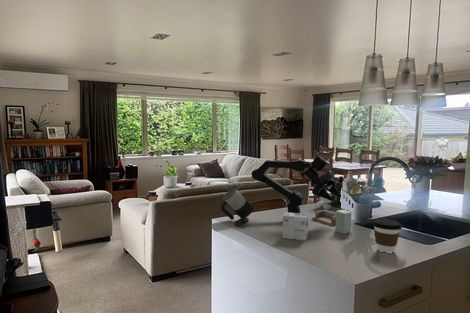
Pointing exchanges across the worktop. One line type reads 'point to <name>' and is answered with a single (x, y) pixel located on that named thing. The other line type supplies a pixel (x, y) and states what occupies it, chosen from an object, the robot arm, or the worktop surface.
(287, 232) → the light bulb box
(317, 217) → the brown shallow tray
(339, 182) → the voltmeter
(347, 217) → the block
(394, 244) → the coffee cup
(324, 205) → the pneumatic valve
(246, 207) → the milk frother
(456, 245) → the worktop surface
